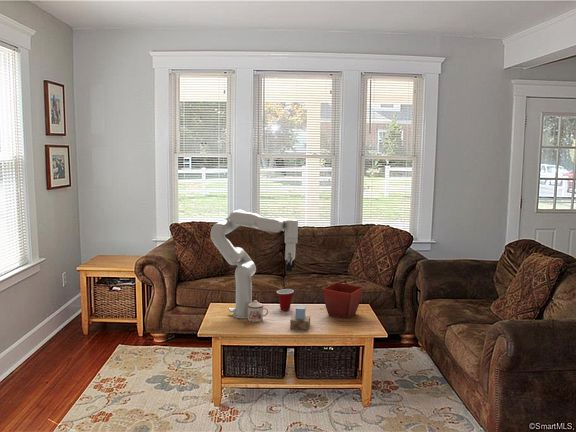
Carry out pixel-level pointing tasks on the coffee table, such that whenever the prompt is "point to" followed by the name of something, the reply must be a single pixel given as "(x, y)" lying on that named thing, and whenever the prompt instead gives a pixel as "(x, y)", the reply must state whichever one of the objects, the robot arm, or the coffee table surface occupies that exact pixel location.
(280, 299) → the plastic cup
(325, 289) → the plant pot
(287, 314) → the coffee table surface
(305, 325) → the walnut plinth
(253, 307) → the teacup with lid
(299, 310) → the slate block
